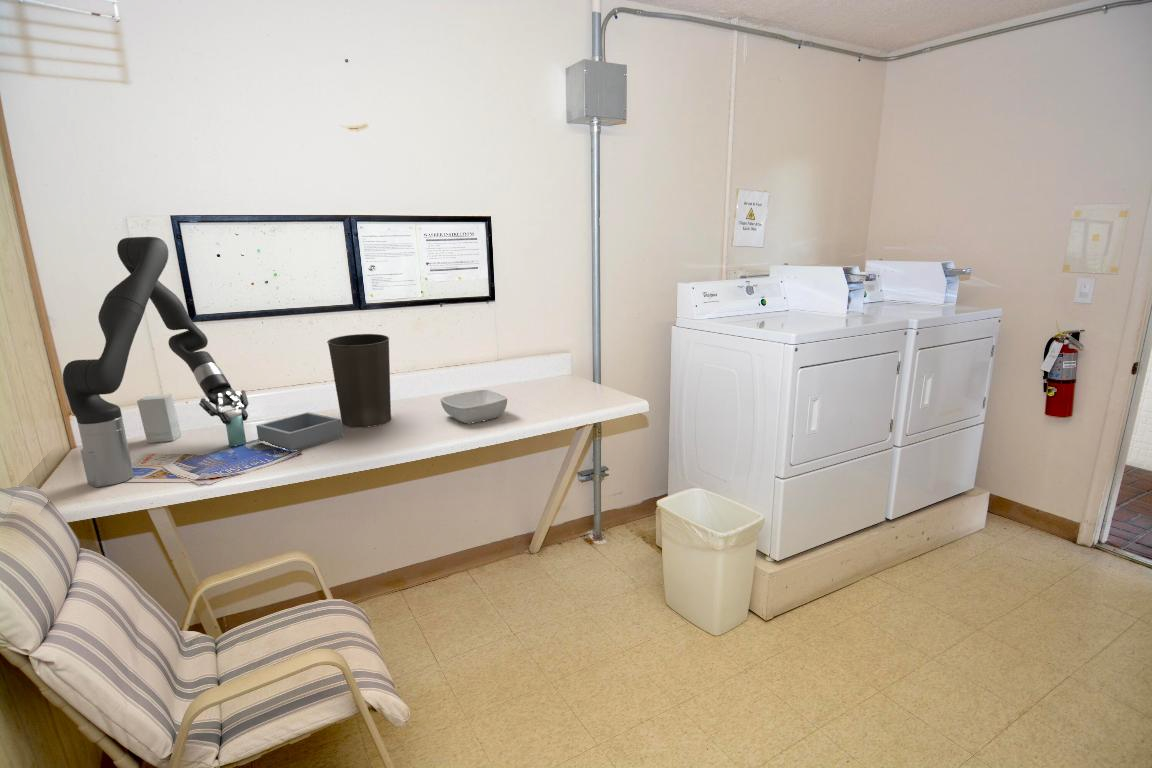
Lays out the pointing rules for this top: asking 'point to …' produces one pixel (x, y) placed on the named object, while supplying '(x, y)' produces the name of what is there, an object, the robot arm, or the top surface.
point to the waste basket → (362, 378)
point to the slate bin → (300, 431)
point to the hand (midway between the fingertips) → (237, 421)
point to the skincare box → (159, 418)
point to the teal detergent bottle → (235, 427)
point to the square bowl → (474, 405)
